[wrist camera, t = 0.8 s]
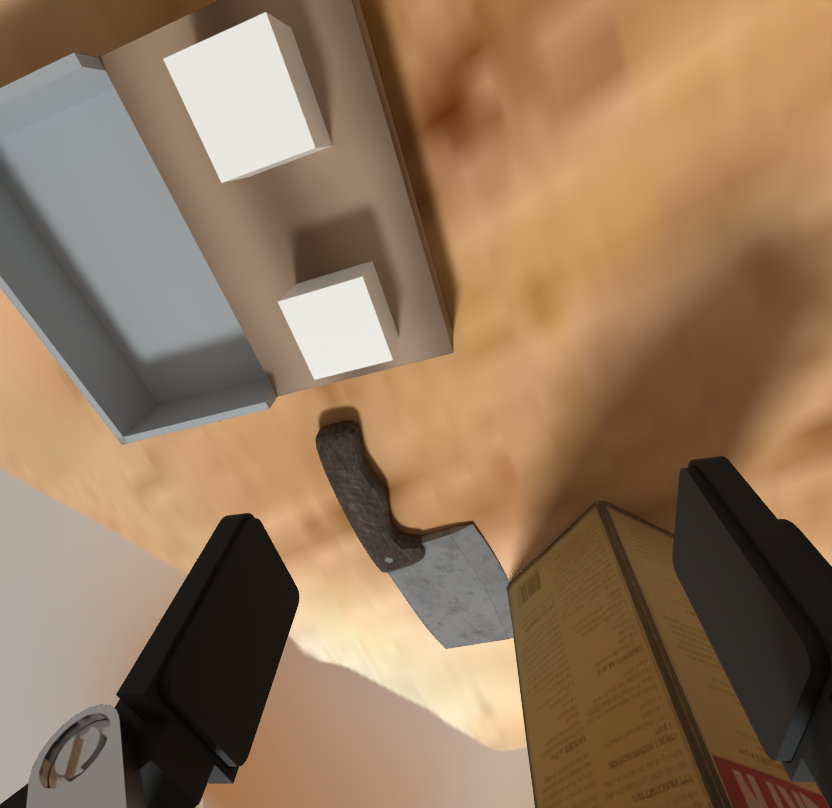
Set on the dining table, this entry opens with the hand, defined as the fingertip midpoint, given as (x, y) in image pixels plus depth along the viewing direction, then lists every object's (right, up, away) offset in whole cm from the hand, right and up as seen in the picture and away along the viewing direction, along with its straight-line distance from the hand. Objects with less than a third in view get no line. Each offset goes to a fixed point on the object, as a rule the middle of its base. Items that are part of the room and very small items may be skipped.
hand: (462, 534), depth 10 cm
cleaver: (0, -9, +30) cm, 31 cm away
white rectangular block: (-8, +16, +10) cm, 21 cm away
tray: (-18, +11, +18) cm, 27 cm away
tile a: (-5, +8, +15) cm, 18 cm away
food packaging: (+14, -11, +29) cm, 34 cm away
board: (-7, +14, +15) cm, 22 cm away
